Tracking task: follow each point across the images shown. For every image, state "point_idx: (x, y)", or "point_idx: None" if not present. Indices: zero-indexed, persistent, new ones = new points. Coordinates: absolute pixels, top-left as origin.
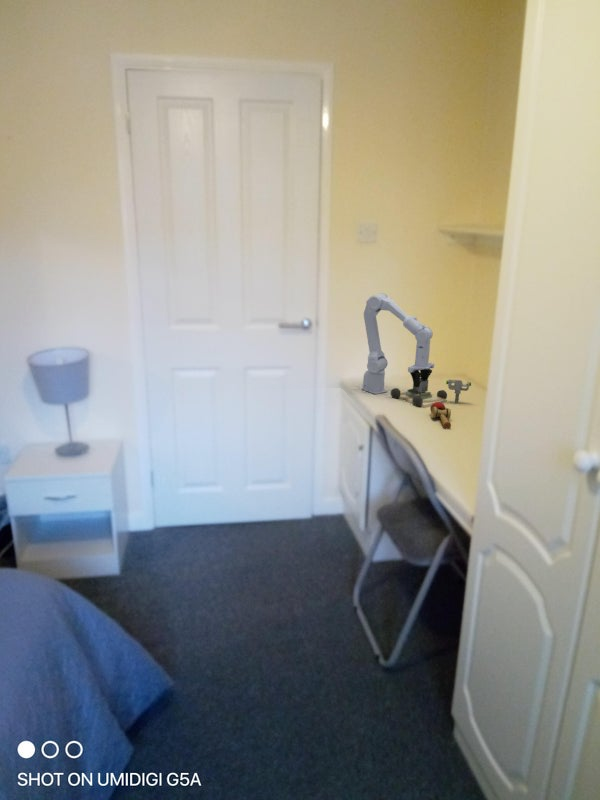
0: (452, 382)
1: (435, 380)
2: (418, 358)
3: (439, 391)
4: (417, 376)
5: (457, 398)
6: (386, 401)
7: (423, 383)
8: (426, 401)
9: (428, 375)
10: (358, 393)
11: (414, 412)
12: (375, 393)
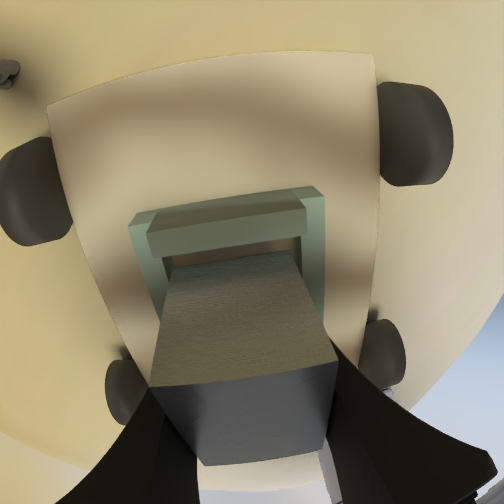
0: None
1: (15, 416)
2: None
3: (38, 221)
4: (445, 439)
5: None
6: (445, 295)
7: (284, 336)
8: (280, 124)
9: (120, 474)
10: (419, 399)
11: (470, 51)
12: (392, 391)
